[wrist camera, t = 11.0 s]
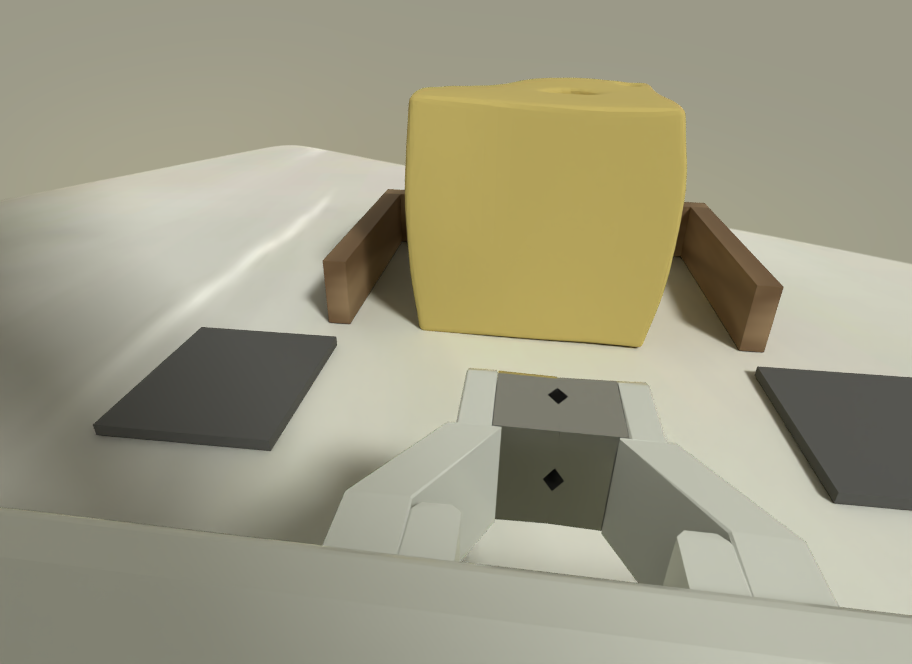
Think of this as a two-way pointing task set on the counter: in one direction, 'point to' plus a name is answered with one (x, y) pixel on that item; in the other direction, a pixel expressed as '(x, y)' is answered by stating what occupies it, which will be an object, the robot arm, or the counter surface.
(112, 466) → the counter surface
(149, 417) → the pads
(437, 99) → the cheese
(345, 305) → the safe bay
